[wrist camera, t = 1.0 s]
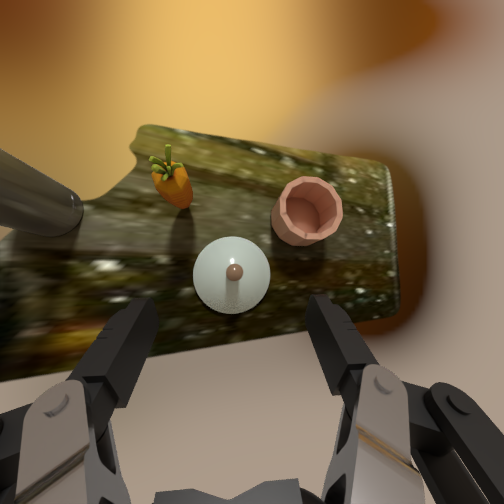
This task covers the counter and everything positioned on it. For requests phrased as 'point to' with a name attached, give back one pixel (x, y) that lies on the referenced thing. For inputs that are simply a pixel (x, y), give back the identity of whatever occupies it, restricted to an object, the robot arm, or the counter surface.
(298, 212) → the terracotta pot
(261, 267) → the celadon lid
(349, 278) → the counter surface
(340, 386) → the robot arm
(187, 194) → the carrot
